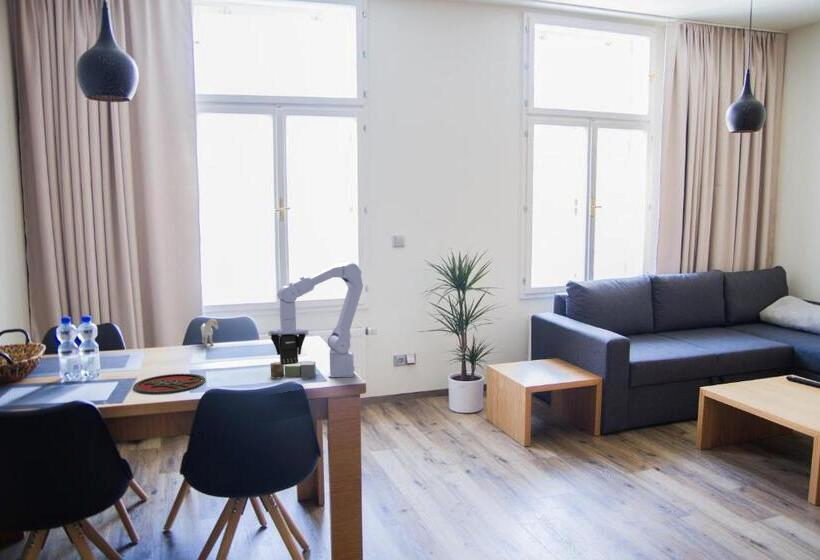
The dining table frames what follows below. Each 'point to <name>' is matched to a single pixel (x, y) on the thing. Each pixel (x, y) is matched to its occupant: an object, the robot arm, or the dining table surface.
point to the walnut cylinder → (277, 370)
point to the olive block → (293, 370)
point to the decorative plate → (169, 383)
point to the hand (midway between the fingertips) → (289, 354)
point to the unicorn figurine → (208, 330)
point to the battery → (288, 349)
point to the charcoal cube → (308, 369)
